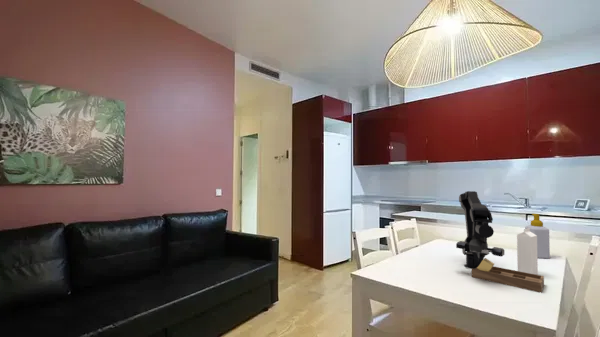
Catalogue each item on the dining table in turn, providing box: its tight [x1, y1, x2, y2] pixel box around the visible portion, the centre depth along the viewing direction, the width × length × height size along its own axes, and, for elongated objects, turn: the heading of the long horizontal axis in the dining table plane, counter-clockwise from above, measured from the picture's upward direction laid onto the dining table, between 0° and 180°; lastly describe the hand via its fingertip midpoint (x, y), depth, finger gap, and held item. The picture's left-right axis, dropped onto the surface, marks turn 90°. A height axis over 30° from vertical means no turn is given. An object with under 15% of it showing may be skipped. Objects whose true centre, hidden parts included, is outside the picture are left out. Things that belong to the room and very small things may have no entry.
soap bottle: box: [524, 213, 551, 259], centre depth 168 cm, size 9×9×25 cm
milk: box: [516, 228, 539, 275], centre depth 138 cm, size 6×6×22 cm
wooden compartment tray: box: [471, 265, 545, 293], centre depth 128 cm, size 12×25×4 cm, turn 45°
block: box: [478, 257, 495, 272], centre depth 132 cm, size 4×4×5 cm
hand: (479, 266), depth 134 cm, fingers closed, pressing on block
